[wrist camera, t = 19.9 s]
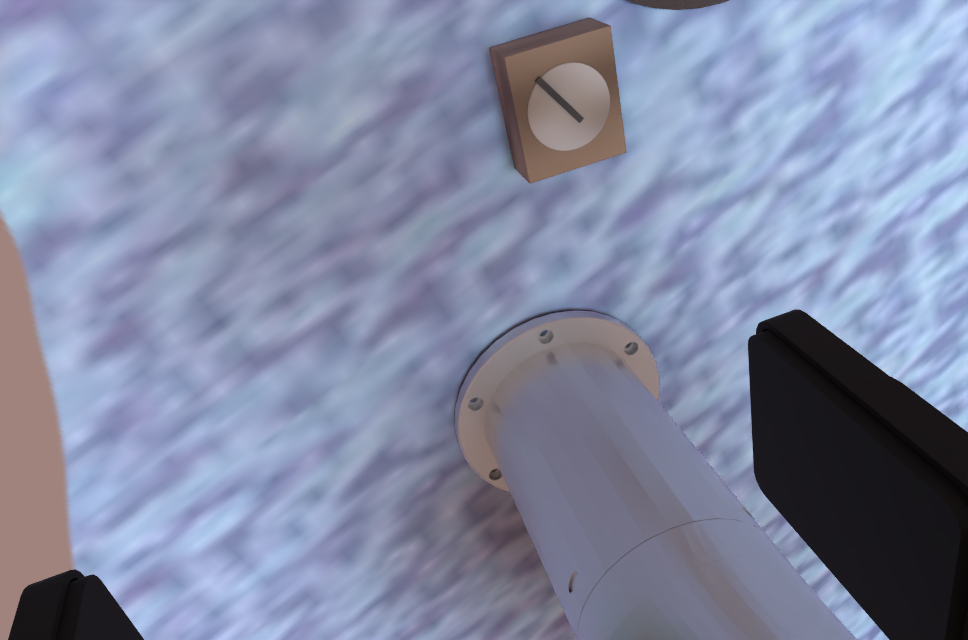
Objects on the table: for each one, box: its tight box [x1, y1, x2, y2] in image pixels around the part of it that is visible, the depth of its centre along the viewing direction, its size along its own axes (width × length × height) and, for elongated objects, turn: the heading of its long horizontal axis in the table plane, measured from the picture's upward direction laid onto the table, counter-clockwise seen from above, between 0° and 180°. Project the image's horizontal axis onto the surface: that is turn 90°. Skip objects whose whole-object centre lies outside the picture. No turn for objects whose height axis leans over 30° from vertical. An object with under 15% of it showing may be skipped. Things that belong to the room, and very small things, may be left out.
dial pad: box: [490, 18, 626, 183], centre depth 37 cm, size 6×5×3 cm
